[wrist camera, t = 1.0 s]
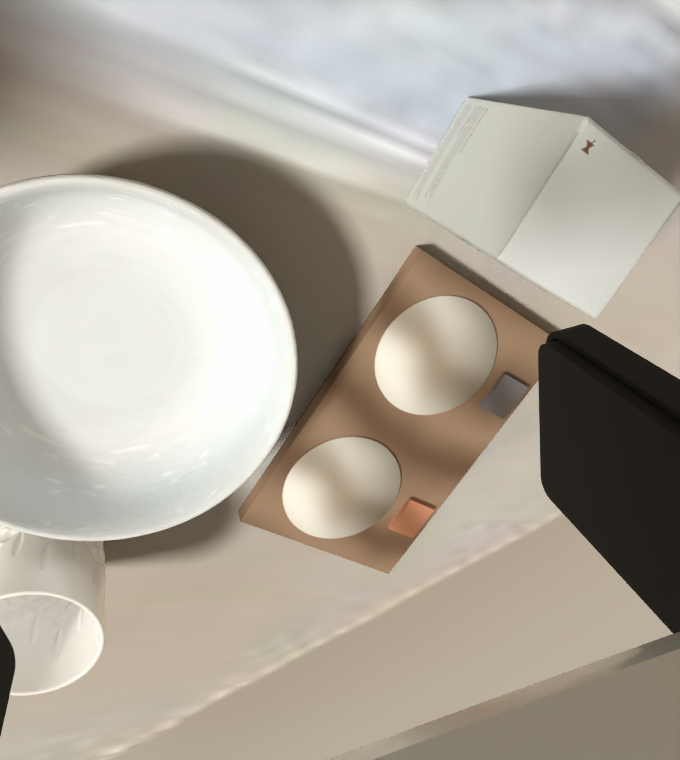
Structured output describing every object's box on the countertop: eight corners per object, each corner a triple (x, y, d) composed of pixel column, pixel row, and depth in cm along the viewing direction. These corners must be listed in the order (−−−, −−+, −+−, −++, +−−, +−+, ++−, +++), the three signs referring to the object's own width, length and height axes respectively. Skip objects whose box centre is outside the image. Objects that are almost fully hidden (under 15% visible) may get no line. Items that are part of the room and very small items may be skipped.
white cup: (52, 462, 42) (28, 567, 34) (136, 529, 46) (134, 639, 38) (-40, 532, 43) (-86, 653, 34) (51, 593, 47) (30, 715, 38)
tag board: (416, 245, 42) (425, 252, 41) (555, 338, 48) (567, 347, 47) (238, 511, 48) (240, 524, 47) (383, 563, 54) (390, 577, 53)
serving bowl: (324, 391, 45) (351, 443, 40) (50, 523, 44) (34, 596, 39) (185, 91, 35) (192, 99, 29) (-179, 255, 34) (-249, 298, 28)
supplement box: (400, 203, 41) (492, 258, 30) (466, 92, 39) (591, 109, 28) (485, 256, 44) (596, 324, 33) (550, 157, 42) (691, 194, 31)
